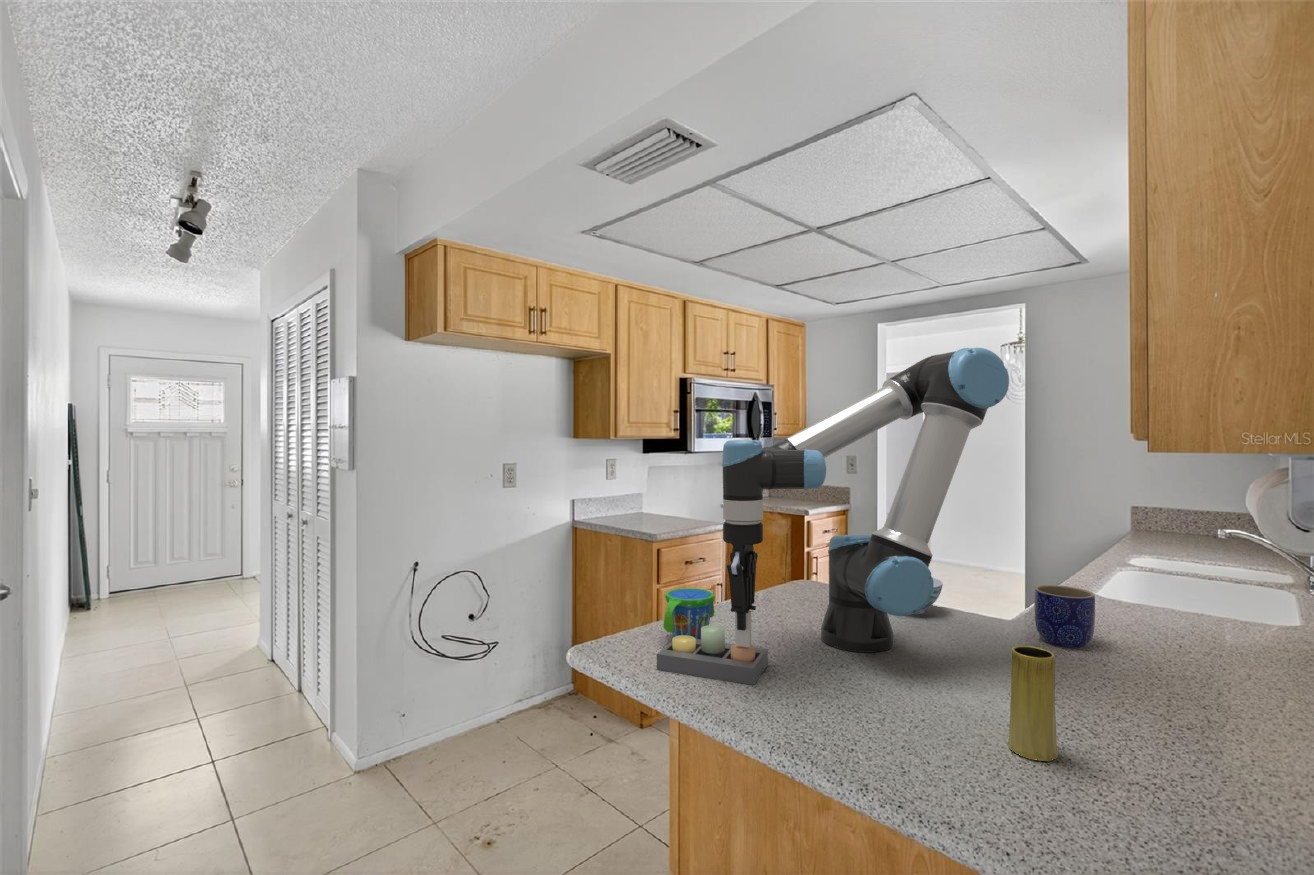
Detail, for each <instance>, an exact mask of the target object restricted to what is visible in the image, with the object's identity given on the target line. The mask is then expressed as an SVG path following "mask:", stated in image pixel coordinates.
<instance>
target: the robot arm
mask: <svg viewBox="0 0 1314 875" xmlns="http://www.w3.org/2000/svg"><path fill="white" fill-rule="evenodd" d="M1004 363H1005V362H1004V361H1003V360H1002V359H1001V357H999V355H997V354H996V353H995V352H994V351H991V350H990V349H987V348H984V347H983V348H982V347H972V348H971V347H963V348H961V349H960V348H959V349H957V350H955V351H951V352H945V353H941V354H940V353H939V354H934V355H930V356H928V357H925V358H923V359H921V360H919V361H917V362H916V363H915V364H912V365H911V366H908V367H907V368H906V369H904V370H902V371H900V372H899V373H897V374H895V375H894V376H892V377H890V378H888V379H886V380H885V381H883V383H882V385H881V386H882V387H881V388H879V389H878V390H875V391H874V392H871V393H870V394H868V395H866V396H864V397H862V398H860V399H859V400H856V401H854V402H853V403H851V404H849V405H847V406H845V407H843V408H842V409H839V410H837V411H836V412H834V413H832V414H829V415H828V416H826V417H825V418H822V419H820V420H818V421H817V422H814V423H812V424H810V425H809V426H807V427H806V428H803V429H802V430H799V431H798V432H796V433H794V434H792V435H789V436H788V437H786V438H785V439H782V440H780V441H778V442H776V443H775V444H773V445H770V446H765V447H763V442H762V441H761V440H756V439H752V440H751V439H748V440H747V439H744V440H743V439H742V440H741V439H740V440H739V439H734V440H733V439H732V440H728V441H725V443H724V444H723V448H722V462H721V466H722V502H721V503H720V507H721V508H722V518H723V520H725V521H724V522H723V524H722V539H723V542H725V543H726V544H731V546H732V548H731V549H732V550H731V552H730V555H729V556H730V558H729V560H730V562H731V563H727V565H726V568H727V573H728V579H729V583H728V584H729V594H730V606H731V608H730V613H731V612H732V613H734V614H735V618H734V620H735V633H734V634H735V636H734V637H735V644H736V646H743V647H750V646H751V645H752V611H755V610H756V609H757V606H756V605H754V604H755V602H756V601H755V597H756V596H755V593H756V592H755V591H756V575H757V562H758V552H756V551H754V549H755V548H754V547H755V546H754V545H759V544H761V543H762V542H763V540H764V526H763V525H764V524H763V523H762V522H761V521H762V520H764V501H763V500H764V498H763V496H764V495H763V494H764V490H767V491H769V490H809V489H819V488H821V487H822V486H823V485H824V483H825V480H826V476H827V464H826V463H827V462H826V460H825V458H827V457H829V456H831V455H833V454H835V453H836V452H839V451H840V450H842V449H844V448H846V447H848V446H850V445H852V444H854V443H856V442H858V441H859V440H861V439H863V438H865V437H867V436H869V435H871V434H872V433H874V432H876V431H878V430H881V429H882V428H884V427H886V426H887V425H889V424H892V423H893V422H895V421H897V420H899V419H901V420H905V421H906V420H909V419H911V418H913V417H914V416H917V415H919V414H924V419H923V421H922V424H921V427H920V430H919V432H918V434H917V437H916V439H915V442H914V446H913V448H912V451H911V453H910V456H909V458H908V461H907V463H906V467H905V468H904V472H903V474H902V477H901V480H900V482H899V485H898V488H897V490H896V493H895V496H894V498H893V501H892V502H891V503H892V504H891V506H890V509H889V512H888V514H887V517H886V519H885V521H884V522H885V523H884V525H883V527H882V528H880V529H877V530H875V531H873V532H872V534H842V535H841V534H838V535H834V536H832V537H831V538H830V539H829V544H828V552H827V553H828V605H827V608H826V612H825V614H824V617H823V620H822V623H821V626H820V639H821V641H822V642H823V643H825V644H827V645H829V646H831V647H833V648H835V649H836V648H838V649H840V650H844V651H850V652H858V653H876V652H877V653H878V652H884V651H888V650H890V649H891V648H893V647H894V645H895V638H894V637H895V636H894V635H895V634H894V630H893V627H892V624H891V621H890V619H889V616H888V615H891V616H896V617H904V616H905V617H906V616H910V615H913V614H912V613H914V612H917V611H919V610H920V609H921V608H922V607H924V606H925V604H926V603H927V602H928V600H929V599H930V597H931V595H932V592H933V586H934V582H933V578H934V577H932V571H931V569H930V568H929V567H930V564H931V561H932V559H933V553H932V551H931V549H930V547H929V542H930V539H931V536H932V534H933V532H934V529H935V525H936V523H937V521H938V518H939V515H940V512H941V510H942V506H943V505H944V501H945V499H946V497H947V494H948V491H949V489H950V485H951V483H952V481H953V478H954V476H955V472H956V469H957V466H958V465H959V461H960V459H961V456H962V454H963V452H964V448H965V446H966V443H967V441H968V438H969V435H970V432H971V431H972V430H973V429H975V428H977V427H980V426H982V424H983V422H984V420H985V417H986V414H987V411H988V409H989V408H993V407H994V406H996V405H997V404H1000V402H1002V401H1003V399H1005V397H1006V395H1007V393H1008V390H1009V386H1010V376H1009V371H1008V369H1007V368H1006V366H1005V364H1004Z"/></svg>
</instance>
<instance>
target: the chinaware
mask: <svg viewBox="0 0 1314 875" xmlns="http://www.w3.org/2000/svg"><path fill="white" fill-rule="evenodd" d="M932 578H933V582H934V586H933V592H932V595H931V597H930V599H929V600H928V602H927V603H926V604H925V606H924V607H922V608H921V609H920V610H919V611H917V612H914V613H912V614H911V615H922V614H924V613H925V611H926V609H928V608H930V607H931V606H932V605H934V603H936V601H937V600H938V599H939V597H940V595H941V592H942V589H943V582H942V580H941V579H938V578H936V577H932Z"/></svg>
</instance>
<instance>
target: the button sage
mask: <svg viewBox="0 0 1314 875" xmlns="http://www.w3.org/2000/svg"><path fill="white" fill-rule="evenodd" d="M725 636H726V628H725V627H723V626H721V625H717V624H716V625H715V624H709V625H707V626H703V627H702V628H701V650H702V651H703V652H706V653H712V654H716V653H721V652H724V651H725V643H726V637H725Z"/></svg>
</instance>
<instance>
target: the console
mask: <svg viewBox="0 0 1314 875" xmlns="http://www.w3.org/2000/svg"><path fill="white" fill-rule="evenodd" d="M733 644H734V643H730V642H729V643H728V642H725V651H724V652H721V653H716V654H712V653H706V652H703V651H702V650H701V640H700V639H696V650H695V651H694V652H693V653H685V652H678V651H672V641H671V642H670V643H668V644H667V645H665V646H664V647H662V649H661V650H660V651H659V652H656V670H658V671H663V672H664V671H665V672H671V673H676V674H681V675H682V674H683V675H687V676H694V677H701V678H707V679H714V680H720V681H727V682H731V683H737V684H744V685H752V686H754V685H755V684H756V683H757V681H758V679H759V678H760V677H761V675H762V673H763V672H764V670H765V669H766V668H767V667H768V665H769V648H764V647H756V646H755V661H754V662H753V663H752V662H746V661H739V660H732V659H731V645H733Z"/></svg>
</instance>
